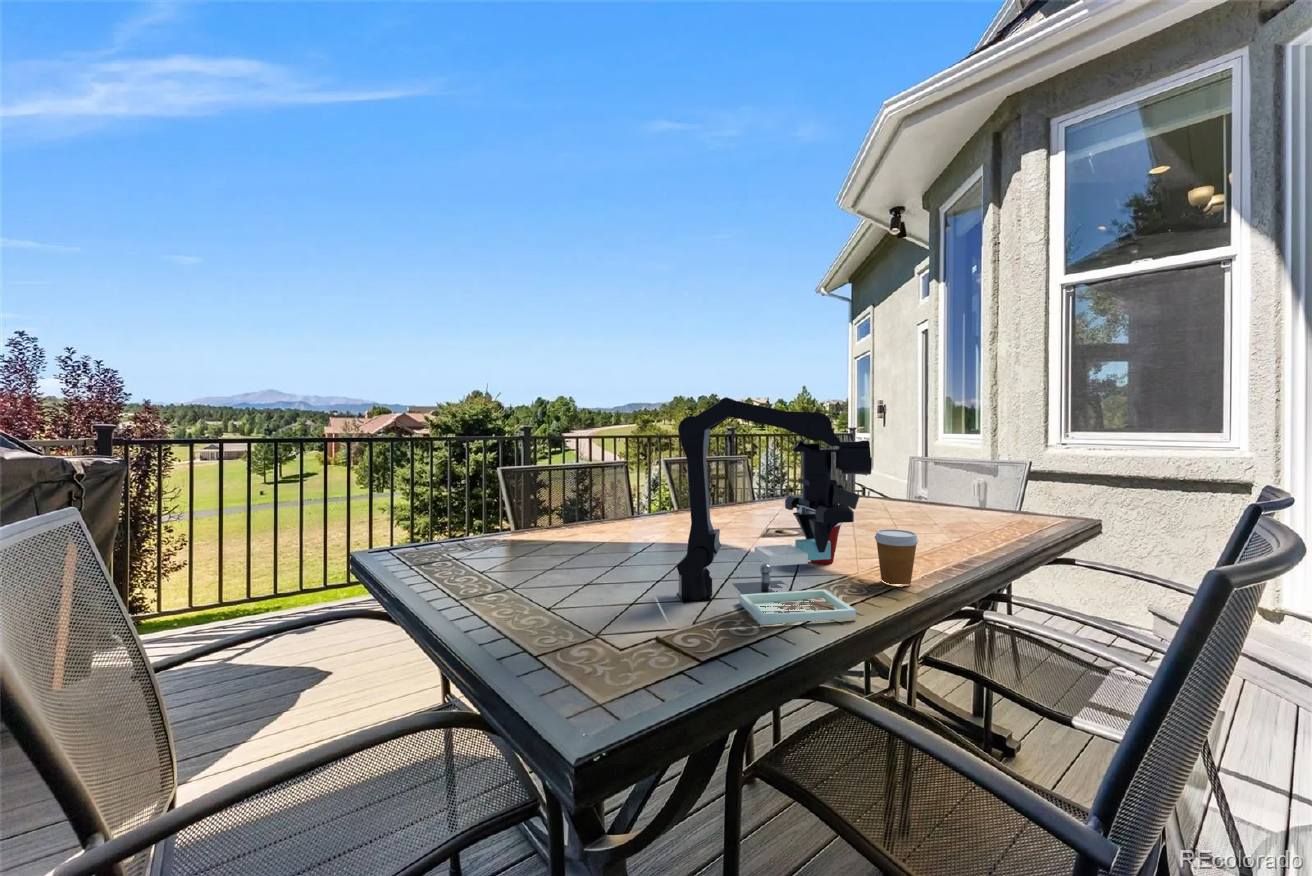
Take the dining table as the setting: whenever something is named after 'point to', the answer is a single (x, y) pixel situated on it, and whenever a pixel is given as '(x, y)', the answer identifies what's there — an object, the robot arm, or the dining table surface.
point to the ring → (792, 553)
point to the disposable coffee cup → (896, 555)
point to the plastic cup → (833, 541)
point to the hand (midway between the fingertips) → (817, 550)
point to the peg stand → (759, 583)
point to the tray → (772, 618)
